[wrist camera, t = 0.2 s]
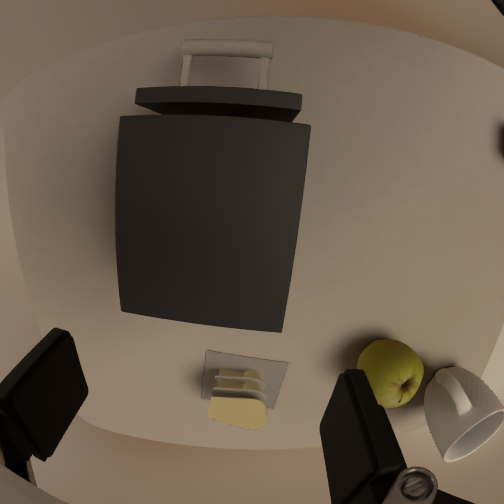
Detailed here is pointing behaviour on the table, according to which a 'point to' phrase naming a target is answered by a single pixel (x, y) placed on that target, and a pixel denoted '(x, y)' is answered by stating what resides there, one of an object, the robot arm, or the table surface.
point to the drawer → (222, 98)
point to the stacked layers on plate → (241, 388)
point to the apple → (391, 371)
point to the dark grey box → (208, 217)
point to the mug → (461, 412)
